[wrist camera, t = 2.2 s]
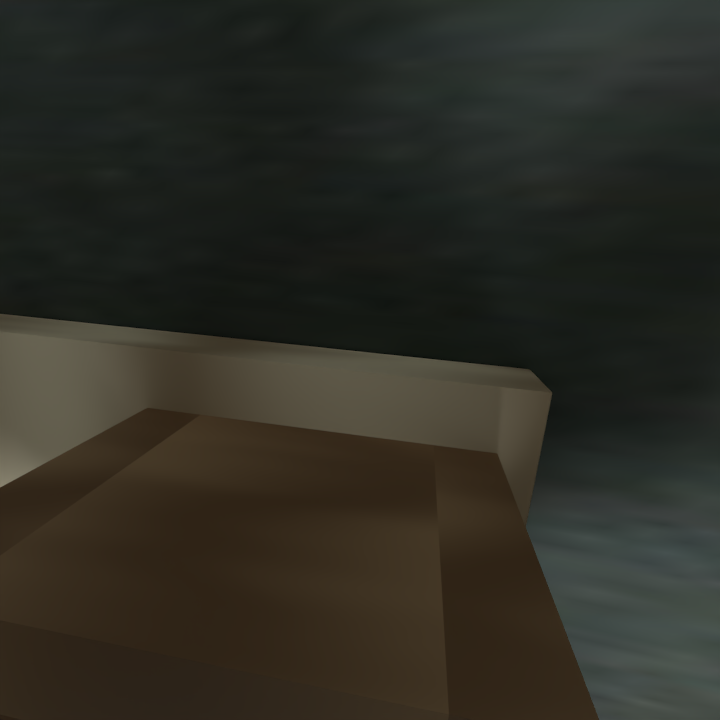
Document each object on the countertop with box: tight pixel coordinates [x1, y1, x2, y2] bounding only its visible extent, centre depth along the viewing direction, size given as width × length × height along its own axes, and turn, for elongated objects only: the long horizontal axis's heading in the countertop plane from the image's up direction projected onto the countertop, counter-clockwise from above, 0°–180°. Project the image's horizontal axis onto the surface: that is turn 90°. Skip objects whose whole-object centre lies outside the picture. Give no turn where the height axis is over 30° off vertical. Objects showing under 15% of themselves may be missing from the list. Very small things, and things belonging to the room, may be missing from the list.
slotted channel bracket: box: [0, 408, 599, 720], centre depth 6 cm, size 7×7×4 cm
